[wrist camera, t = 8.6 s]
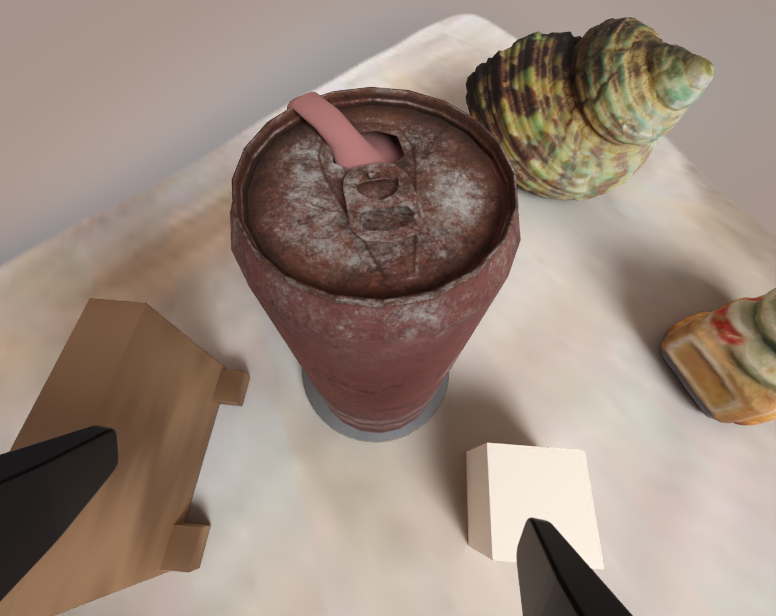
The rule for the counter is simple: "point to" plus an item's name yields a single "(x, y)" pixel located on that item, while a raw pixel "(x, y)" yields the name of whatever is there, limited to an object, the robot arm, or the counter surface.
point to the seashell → (584, 104)
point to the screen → (127, 453)
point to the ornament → (728, 359)
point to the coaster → (370, 436)
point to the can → (375, 242)
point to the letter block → (529, 498)
